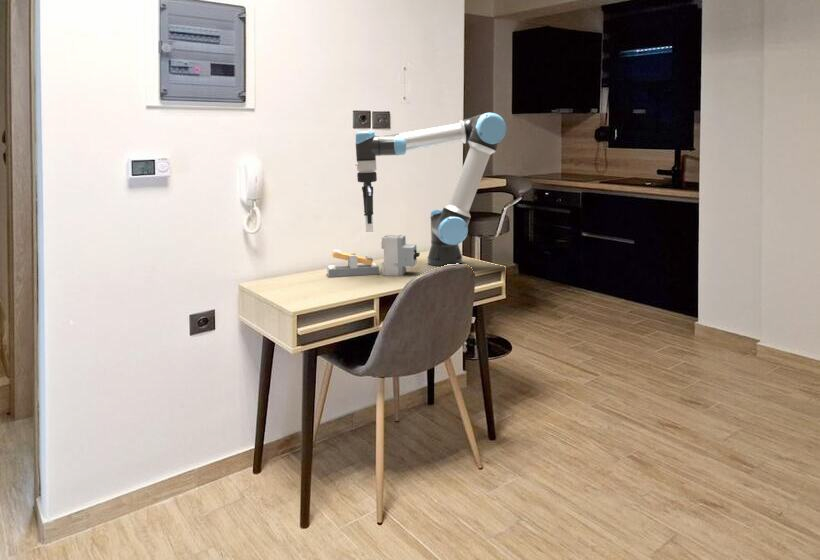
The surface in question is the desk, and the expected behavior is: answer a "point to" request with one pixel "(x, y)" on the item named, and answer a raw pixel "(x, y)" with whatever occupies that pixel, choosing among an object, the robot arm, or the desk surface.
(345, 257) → the lever
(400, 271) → the circuit breaker
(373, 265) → the grey block
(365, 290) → the desk surface
